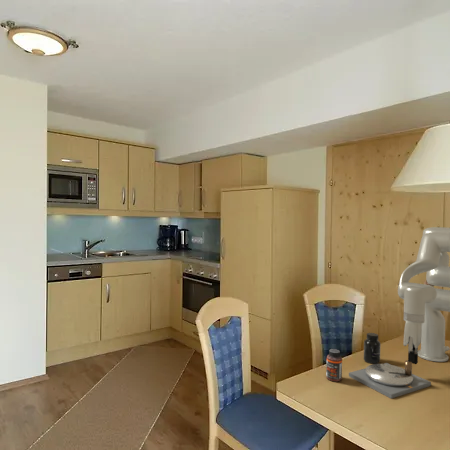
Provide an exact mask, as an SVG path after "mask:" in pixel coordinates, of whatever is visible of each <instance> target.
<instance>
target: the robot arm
mask: <svg viewBox="0 0 450 450" xmlns="http://www.w3.org/2000/svg"><path fill="white" fill-rule="evenodd" d="M449 253H450V227H441V226H435V227H434V226H433V227H426V228H424V230H422V237H421V239H420V243H419V248H418V251H417V255H416V260H415V261H414V262H412V263H411V264H409V265H408V266H407V267H406V268H405V269H404V270H403V271H402V273H401V275H400V279H399V281H398V287H397V295H398V297H399V299H402V300H403V321H404V322H405V323H404V331H403V343H402V344H403V346H404V347H406V346H408V348H407V349H408V350H407V351H408V353H407V354H408V355H407V361H411V362H412V365H417V364H418V362H419V358H421V359H424V360H427V361H430V362H431V361H432V362H439V363H443V362H447V361H449V355H448V354H446V352H447V351H450V347H449V346H448V345H447V346H446V344H445V343H446V319H445V316H444V315H443V313H442V312H448V313H450V289H449V288H450V266H449V265H450V264H449V263H450V255H449ZM423 273H426V275H425V277H426V279H425V280H426V282H427V284H424V283H416V282H410V281H411V279H412V278H413V277H416V276H417V275H420V274H423ZM434 286H436V287H441V288H436V287H434ZM443 288H448V289H443ZM419 346H420V349H419Z"/></svg>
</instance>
